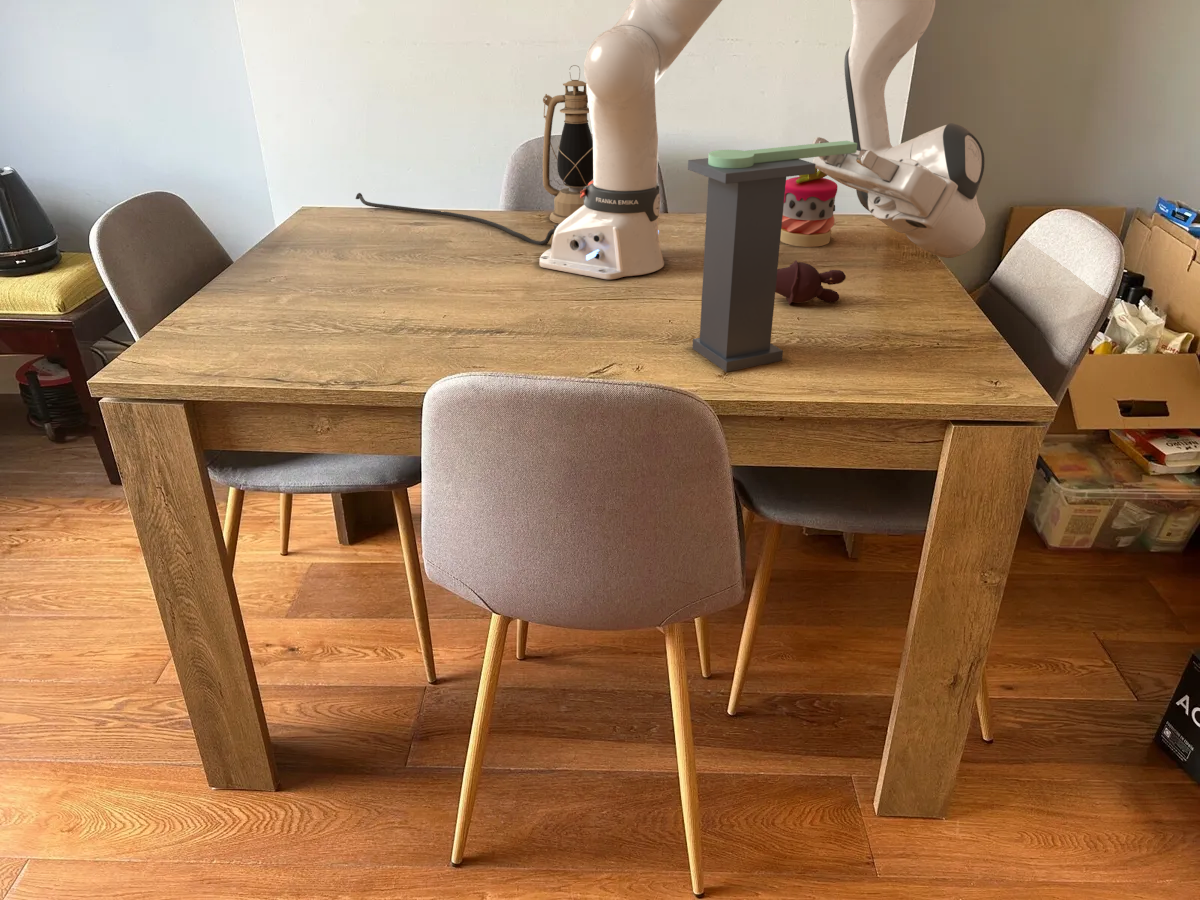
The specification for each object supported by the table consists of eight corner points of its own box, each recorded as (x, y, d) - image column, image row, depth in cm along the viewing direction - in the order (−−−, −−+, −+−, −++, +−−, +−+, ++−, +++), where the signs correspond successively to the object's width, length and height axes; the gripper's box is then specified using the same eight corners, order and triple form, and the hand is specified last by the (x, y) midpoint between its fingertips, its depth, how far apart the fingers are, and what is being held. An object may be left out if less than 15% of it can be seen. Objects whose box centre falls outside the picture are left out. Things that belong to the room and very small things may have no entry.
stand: (757, 336, 129) (773, 151, 116) (794, 358, 121) (815, 163, 109) (679, 351, 124) (687, 160, 111) (713, 374, 117) (726, 173, 104)
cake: (765, 238, 174) (772, 159, 166) (802, 229, 179) (810, 152, 172) (805, 250, 166) (815, 168, 159) (842, 240, 172) (853, 161, 164)
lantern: (614, 211, 192) (614, 62, 178) (609, 225, 182) (609, 68, 168) (548, 210, 194) (543, 61, 179) (539, 224, 183) (533, 68, 169)
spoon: (837, 147, 118) (838, 138, 117) (864, 155, 113) (866, 145, 113) (699, 161, 110) (700, 151, 110) (723, 170, 106) (724, 159, 105)
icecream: (751, 270, 135) (850, 282, 134) (751, 245, 140) (846, 256, 139) (744, 308, 140) (839, 319, 139) (744, 282, 145) (835, 293, 144)
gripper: (864, 158, 130) (802, 114, 122) (968, 187, 114) (905, 138, 106) (841, 198, 131) (779, 157, 124) (941, 232, 115) (877, 187, 108)
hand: (838, 148), depth 115 cm, fingers open, 8 cm apart
